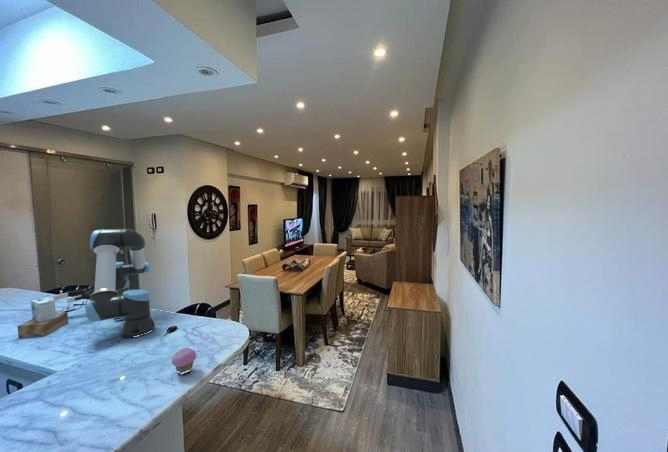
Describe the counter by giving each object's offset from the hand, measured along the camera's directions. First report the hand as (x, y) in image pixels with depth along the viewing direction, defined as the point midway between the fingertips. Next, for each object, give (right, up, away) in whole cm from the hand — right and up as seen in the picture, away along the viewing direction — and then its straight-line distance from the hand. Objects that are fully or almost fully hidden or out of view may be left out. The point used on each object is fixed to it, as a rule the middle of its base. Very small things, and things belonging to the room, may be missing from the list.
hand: (60, 299), depth 155 cm
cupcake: (+98, -19, -44) cm, 109 cm away
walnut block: (-3, -16, -6) cm, 17 cm away
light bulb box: (-3, -9, -6) cm, 11 cm away
